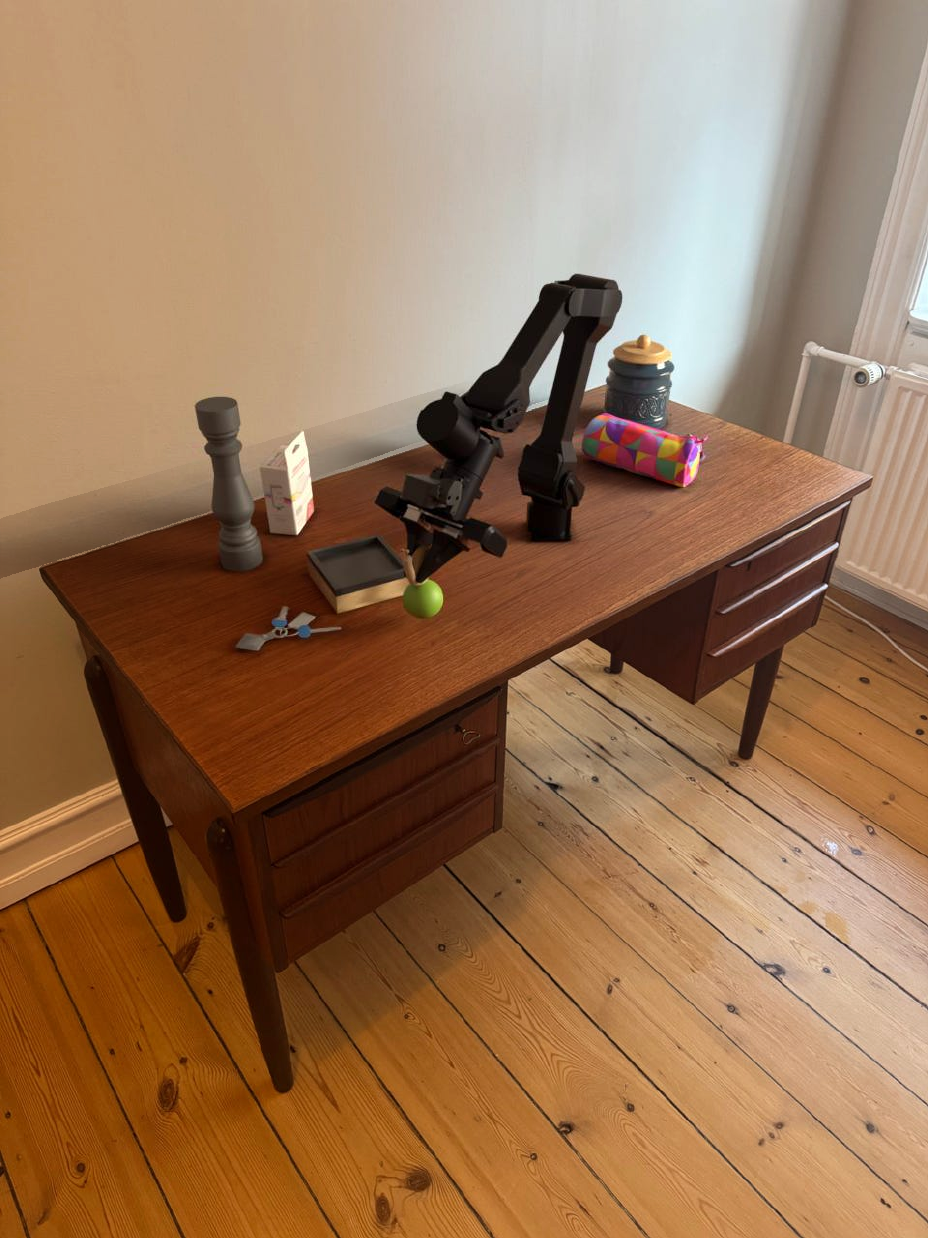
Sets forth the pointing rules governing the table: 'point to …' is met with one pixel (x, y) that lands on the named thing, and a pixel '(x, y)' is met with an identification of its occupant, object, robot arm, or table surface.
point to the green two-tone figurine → (420, 587)
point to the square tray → (357, 572)
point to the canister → (639, 382)
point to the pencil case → (643, 449)
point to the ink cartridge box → (288, 487)
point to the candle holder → (229, 484)
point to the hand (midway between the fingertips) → (412, 579)
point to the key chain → (298, 623)
